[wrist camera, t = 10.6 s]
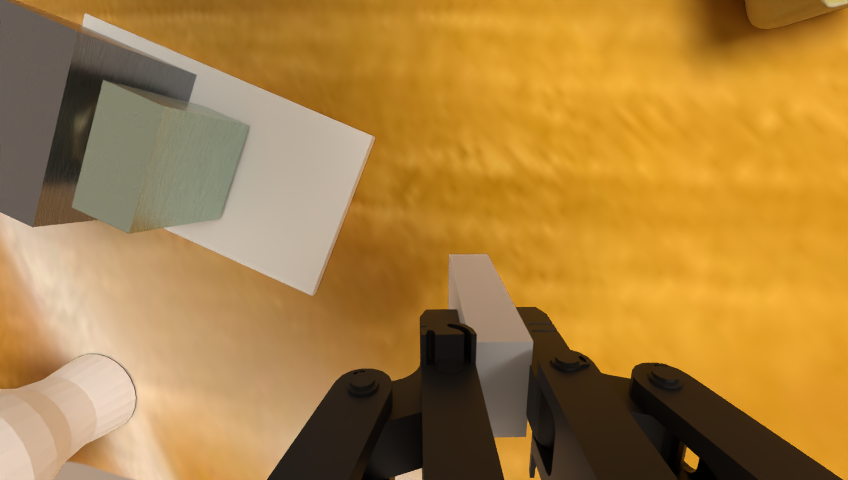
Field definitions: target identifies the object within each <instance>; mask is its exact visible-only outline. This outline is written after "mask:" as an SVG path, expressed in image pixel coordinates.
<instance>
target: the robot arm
mask: <svg viewBox="0 0 848 480" xmlns="http://www.w3.org/2000/svg"><path fill="white" fill-rule="evenodd" d="M527 418H528V421H529V424H530V427H531V429H532V442H531V454H530V466H529V474H530V478H534V475H535V468H536V466H537V469H538V472H539V475H540V478H541V480H843V479H841V478H840V477H838V476H837V475H835V474H834V473H832V472H831V471H829V470H828V469H826V468H825V467H824V466H822V465H821V464H819V463H818V462H816V461H815V460H813V459H812V458H810V457H809V456H807V455H806V454H804V453H803V452H801V451H800V450H798V449H797V448H796V447H794V446H793V445H791V444H790V443H788V442H787V441H785V440H784V439H782V438H781V437H779V436H778V435H776V434H775V433H773V432H772V431H771V430H769V429H768V428H766V427H765V426H763V425H762V424H760V423H759V422H757V421H756V420H754V419H753V418H751V417H750V416H748V415H747V414H746V413H744V412H743V411H741V410H740V409H738V408H737V407H735V406H734V405H732V404H731V403H729V402H728V401H726V400H725V399H723V398H722V397H721V396H719V395H718V394H716V393H715V392H713V391H712V390H710V389H709V388H707V387H706V386H704V385H703V384H701V383H700V382H698V381H697V380H696V379H694V378H693V377H691V376H690V375H688V374H686V373H684V372H683V371H681V370H679V369H677V368H674V367H671V366H669V365H666V364H662V363H660V364H659V363H641V364H639V365H636V366H635V367H634V368H633V370H632V374H631V379H629V378H624V377H618V376H612V375H607V374H603V373H601V372H600V371H599V369H598V368H597V366H596V365H595V364H594V362H593V361H591V360H590V359H589V358H588V357H587V356H585V355H583V354H581V353H579V352H576V351H572V350H570V349H569V347H568V346H567V344H566V343H565V341H564V340H563V338H562V337H561V335H560V334H559V332H558V331H557V329H556V328H555V326H554V325H553V324H552V322H551V320H550V319H549V317H548V316H547V314H545V313H544V312H542V311H541V310H539V309H538V308H536V307H515V305H514V304H513V302H512V300H511V298H510V296H509V294H508V292H507V290H506V288H505V286H504V284H503V283H502V281H501V279H500V277H499V275H498V273H497V271H496V269H495V267H494V265H493V263H492V262H491V260H490V258H489V256H488V254H449V297H448V309H439V310H426V311H425V312H424V313H423V314H422V315H421V317H420V366H419V368H418V369H417V370H416V371H415V372H414V373H413V374H411V375H409V376H408V377H406V378H403V379H399V380H396V381H391V379H390V377H389V376H388V375H387V374H385V373H384V372H382V371H379V370H375V369H358V370H353V371H350V372H348V373H346V374H344V375H342V376H341V377H340V378H339V379H338V380H337V381H336V382H335V383H334V384H333V386H332V387H331V389H330V390H329V391H328V393H327V394H326V396H325V397H324V399H323V400H322V402H321V403H320V404H319V406H318V407H317V409H316V410H315V412H314V413H313V414H312V416H311V417H310V419H309V420H308V422H307V423H306V424H305V426H304V427H303V429H302V430H301V432H300V433H299V434H298V436H297V437H296V439H295V440H294V442H293V443H292V444H291V446H290V447H289V449H288V450H287V452H286V453H285V454H284V456H283V457H282V459H281V460H280V462H279V463H278V465H277V466H276V467H275V469H274V470H273V472H272V473H271V475H270V476H269V477H268V479H267V480H395V476H398V475H401V474H404V473H407V472H410V471H414V470H417V469H420V468H422V480H504V477H503V473H502V469H501V465H500V461H499V457H498V453H497V448H496V444H495V440H494V437H526V431H527ZM687 447H688V448H689V449H690V450H691V451H693V452H694V453H695V454H696V455H697V456H698V457H699V463H698V467H697V469H696V470H695V469H693V468H692V467H690V466H689V465H688V464H687V463H686V462H685V461H684V457H685V453H686V448H687Z"/></svg>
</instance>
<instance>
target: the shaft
mask: <svg viewBox="0 0 848 480" xmlns="http://www.w3.org/2000/svg"><path fill="white" fill-rule="evenodd" d="M248 128H249V125H247V124H244V123H242V122H240V121H237V120H235V119H233V118H230V117H228V116H226V115H223V114H221V113H219V112H217V111H214V110H212V109H210V108H207V107H205V106H202V105H198V104H194V103H190V102H186V101H183V100H179V99H175V98H171V97H167V96H163V95H160V94H156V93H152V92H148V91H144V90H140V89H137V88H133V87H129V86H125V85H121V84H118V83H114V82H110V81H106V80H103V83H102V87H101V91H100V95H99V99H98V103H97V107H96V111H95V115H94V119H93V123H92V127H91V131H90V135H89V139H88V143H87V147H86V151H85V155H84V159H83V163H82V168H81V172H80V176H79V180H78V184H77V188H76V192H75V196H74V200H73V204H72V208H74V209H76V210H79V211H81V212H83V213H85V214H87V215H89V216H92V217H94V218H96V219H98V220H100V221H103V222H105V223H107V224H109V225H111V226H113V227H116V228H118V229H120V230H122V231H124V232H127V233H135V232H141V231H148V230H154V229H160V228H166V227H172V226H179V225H185V224H191V223H197V222H203V221H210V220H216V219H219V218H220V215H221V212H222V209H223V206H224V203H225V200H226V197H227V194H228V190H229V187H230V184H231V181H232V178H233V175H234V172H235V169H236V166H237V162H238V159H239V156H240V153H241V150H242V147H243V144H244V141H245V138H246V134H247V131H248Z"/></svg>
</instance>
